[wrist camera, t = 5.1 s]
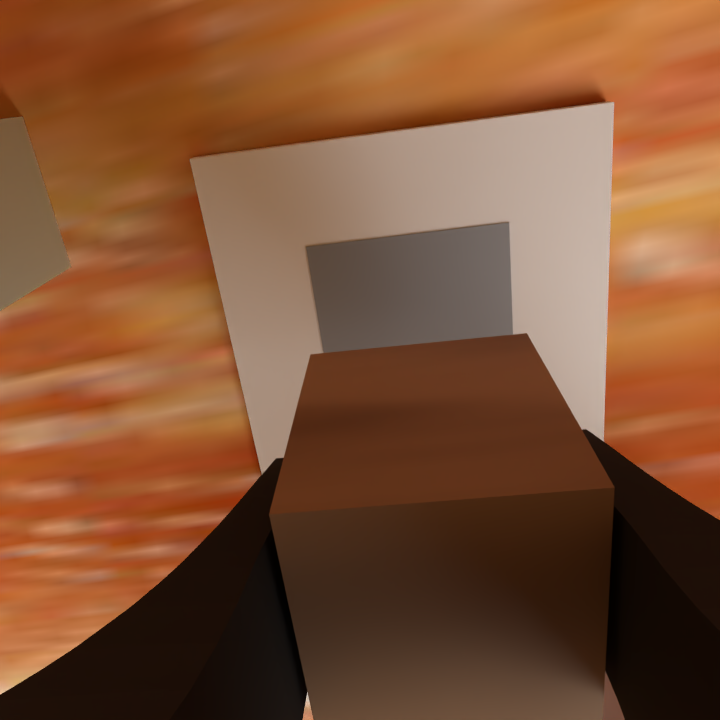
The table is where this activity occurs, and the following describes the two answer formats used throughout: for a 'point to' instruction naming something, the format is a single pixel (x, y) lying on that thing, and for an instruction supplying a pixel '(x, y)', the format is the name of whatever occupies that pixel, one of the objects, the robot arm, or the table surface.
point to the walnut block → (444, 537)
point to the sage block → (25, 219)
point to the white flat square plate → (415, 250)
